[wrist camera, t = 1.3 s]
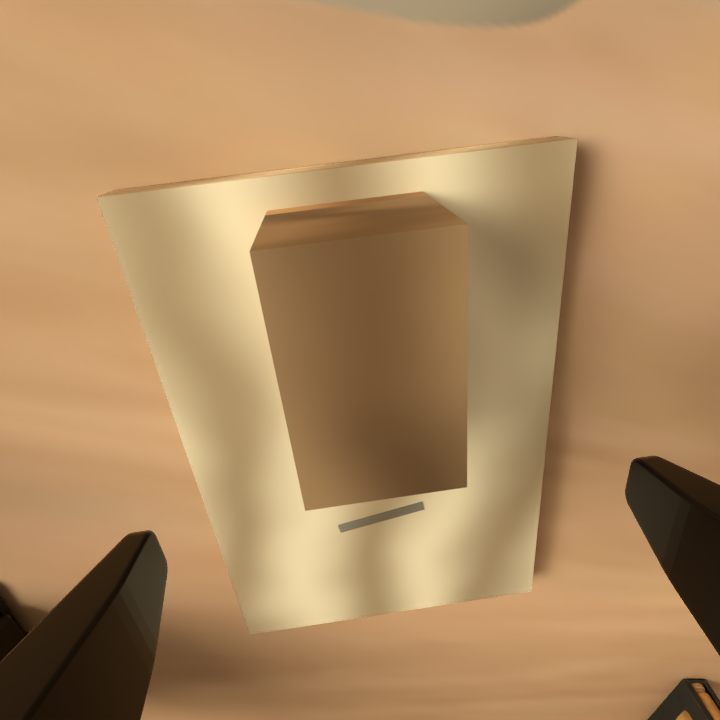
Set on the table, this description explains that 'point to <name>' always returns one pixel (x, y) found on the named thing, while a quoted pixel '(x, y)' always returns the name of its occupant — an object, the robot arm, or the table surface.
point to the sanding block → (369, 344)
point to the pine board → (263, 401)
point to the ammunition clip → (689, 703)
